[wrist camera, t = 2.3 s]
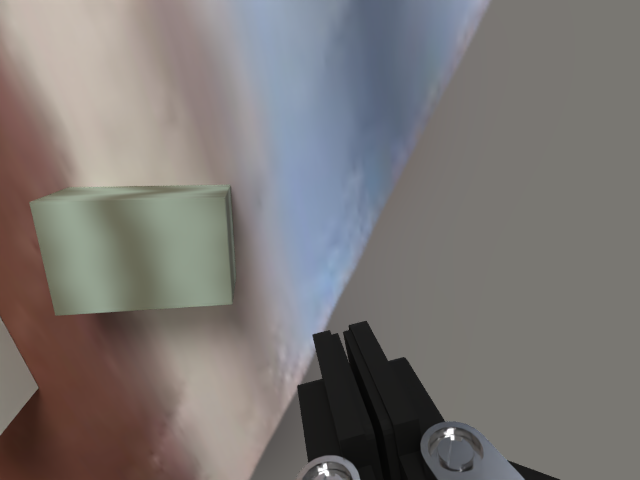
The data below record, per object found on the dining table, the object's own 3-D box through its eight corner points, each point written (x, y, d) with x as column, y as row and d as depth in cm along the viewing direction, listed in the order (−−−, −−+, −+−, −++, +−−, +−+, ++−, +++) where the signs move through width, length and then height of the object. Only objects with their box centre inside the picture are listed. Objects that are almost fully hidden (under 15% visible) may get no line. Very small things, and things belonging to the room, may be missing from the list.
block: (230, 184, 31) (224, 197, 26) (236, 275, 33) (232, 304, 28) (69, 187, 29) (29, 202, 24) (88, 282, 32) (55, 315, 26)
